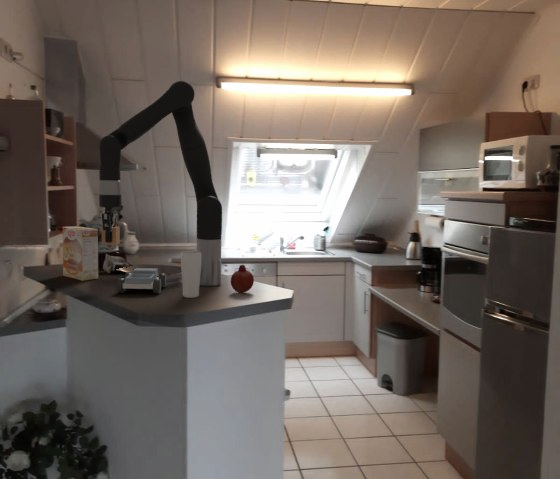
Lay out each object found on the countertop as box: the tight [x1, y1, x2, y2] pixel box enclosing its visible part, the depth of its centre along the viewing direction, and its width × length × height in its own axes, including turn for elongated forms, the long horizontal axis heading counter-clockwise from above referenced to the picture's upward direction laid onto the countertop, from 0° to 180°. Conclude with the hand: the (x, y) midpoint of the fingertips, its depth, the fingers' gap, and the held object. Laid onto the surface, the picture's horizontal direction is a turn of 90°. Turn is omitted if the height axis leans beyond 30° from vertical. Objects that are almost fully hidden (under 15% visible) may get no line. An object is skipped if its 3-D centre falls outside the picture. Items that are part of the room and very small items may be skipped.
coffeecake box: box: [61, 226, 99, 282], centre depth 208 cm, size 15×7×20 cm, turn 49°
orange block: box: [101, 226, 121, 246], centre depth 189 cm, size 5×5×6 cm
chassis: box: [116, 267, 167, 294], centre depth 187 cm, size 14×16×6 cm
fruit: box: [230, 264, 255, 294], centre depth 186 cm, size 8×8×10 cm
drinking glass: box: [180, 250, 202, 299], centre depth 178 cm, size 7×7×15 cm
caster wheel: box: [102, 253, 134, 274], centre depth 223 cm, size 7×11×10 cm
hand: (111, 241), depth 189 cm, fingers closed on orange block, 5 cm apart
